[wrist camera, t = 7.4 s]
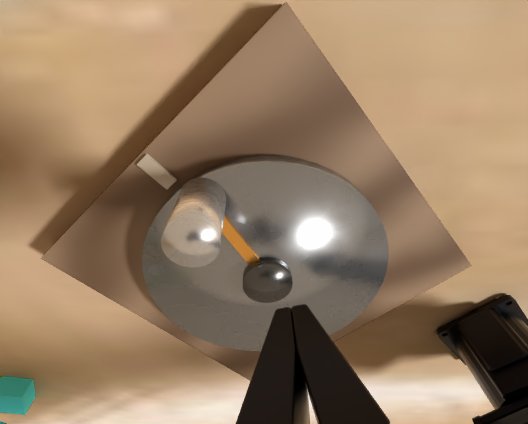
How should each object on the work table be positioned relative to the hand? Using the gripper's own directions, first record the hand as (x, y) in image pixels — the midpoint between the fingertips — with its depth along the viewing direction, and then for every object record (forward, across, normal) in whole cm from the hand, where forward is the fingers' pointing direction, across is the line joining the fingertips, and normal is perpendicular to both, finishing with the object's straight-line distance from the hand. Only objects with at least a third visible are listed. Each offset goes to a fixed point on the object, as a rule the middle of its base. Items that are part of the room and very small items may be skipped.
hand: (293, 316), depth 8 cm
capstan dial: (+10, +2, +6) cm, 12 cm away
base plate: (+11, +2, +6) cm, 13 cm away
